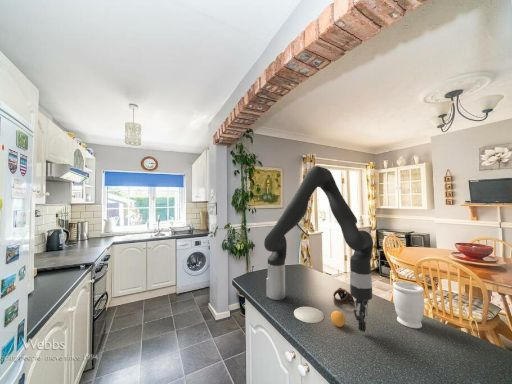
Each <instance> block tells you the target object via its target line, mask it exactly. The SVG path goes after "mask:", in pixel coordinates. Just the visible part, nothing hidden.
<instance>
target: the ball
mask: <svg viewBox="0 0 512 384" xmlns="http://www.w3.org/2000/svg"><path fill="white" fill-rule="evenodd" d="M330 320H331V323H332V324H333V325H334V326H335V327H339V328H340V327H343V326H344V325H345V324H346V316H345V315H344V313H343V312H342V311H339V310H334V311H332V312H331V316H330Z"/></svg>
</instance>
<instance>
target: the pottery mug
mask: <svg viewBox="0 0 512 384" xmlns="http://www.w3.org/2000/svg"><path fill="white" fill-rule="evenodd" d="M337 294H338V296H339V298H337V297H336V295H337ZM332 296H333V304H334V305H337V306H344V305H349V303H352V304H353V306H354V307H355V300H354V297H353V296H352V295H351V293H350V292H349V291H347V290H346V289H344V288H342V287H338V289H336V290H335V291H334V292H333V295H332Z"/></svg>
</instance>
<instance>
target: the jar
mask: <svg viewBox="0 0 512 384" xmlns="http://www.w3.org/2000/svg"><path fill="white" fill-rule="evenodd" d="M392 287H393V288H394V289H393V293H392V295H393V296H392V297H393V299H392V300H393V304H394V310H395V313H396V315H397V317H396V321H397V322H398V323H399V324H401V325H402V326H405V327H408V328H411V329H421V328H422V327H423V323H422V320H423V318H424V312H425V297H424V295H423V293H424V288H423V287H422V286H421V285H418V284H416V283H413V282H409V281H408V282H407V281H394V282H392Z"/></svg>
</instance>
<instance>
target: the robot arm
mask: <svg viewBox="0 0 512 384" xmlns="http://www.w3.org/2000/svg"><path fill="white" fill-rule="evenodd" d="M317 188H320V189H321V190H322V191H323V192H324V194H325V195H326V198H327V199H328V203H329V208H330V210H331V212H332V214H333V217H334V219H335V220H336V222H337V224H338V225H339V226H340V229H341V233H342V236H343V238H344V241H345V243H346V244H347V246H348V247H349V248H350V249H352V250H354V253H353V254H352V255H351V256H350V261H349V262H350V266H349V267H350V274H349V286H350V289H349V290H350V292H349V293H350V294H351V295H352V297H353V299H354V298H355V300H354V302H355V306H354V307H355V309H354V310H353V315H354V317H355V319H356V321H357V322H358V330H359V331H361V332H362V333H363V332H364V333H365V332H366V330H367V327H366V326H367V322H366V320H367V317H368V310H369V301H370V300H372V299H373V278H372V267H371V259H372V255H373V249H374V248H373V247H374V241H373V237H372V234H370V233H369V232H368V231H366V230H359V229H358V226H357V223H358V218H357V217H356V216H355V214H354V212H353V211H352V209H351V208H350V206H349V205H348V203H347V202H346V200H345V198H344V197H343V195H342V193H341V191H340V189H339V187H338V185H337V182H336V181H335V178H334V176H333V174H332V172H331V171H330V170H329V169H328V168H325V167H322V166H319V165H315V166H314V165H313V166H311V167H310V169H308V171H307V172H306V174H305V175H304V177H303V180H302V181H301V183H300V185H299V186H298V189H297V191H296V192H295V193H294V196H293V197H292V199H291V200H290V202H289V203H288V204H287V206H286V208H285V209H284V211H283V213H282V214H281V216H280V217H279V218H278V221H277V222H276V224H274V226H273V228H272V229H271V230H270V231H269V232H268V234H267V235H266V237H264V241H263V244H264V248H265V250H266V251H268V252H271V254H270V255H269V256H268V258H267V277H266V282H265V283H266V285H265V287H266V290H265V291H266V292H265V293H266V295H265V296H266V298H269V299H270V300H274V301H281V300H284V299H285V297H286V267H285V266H286V264H285V263H286V259H287V246H288V244H287V237H286V235H287V234H288V233H289V232H290V231H291V230H293V228H296V227H297V225H298V224H299V223H300V222H301V221H302V219H303V218H304V216H305V215H306V213H307V211H308V207H309V201H310V198H311V196H312V195H313V194H314V192H315V191H316V190H317Z"/></svg>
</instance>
